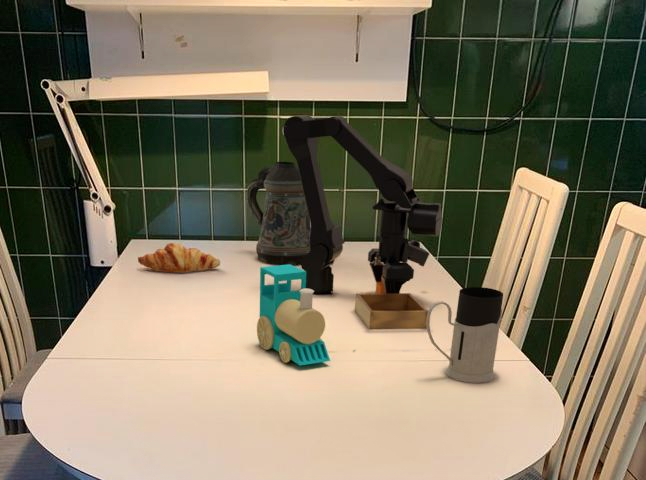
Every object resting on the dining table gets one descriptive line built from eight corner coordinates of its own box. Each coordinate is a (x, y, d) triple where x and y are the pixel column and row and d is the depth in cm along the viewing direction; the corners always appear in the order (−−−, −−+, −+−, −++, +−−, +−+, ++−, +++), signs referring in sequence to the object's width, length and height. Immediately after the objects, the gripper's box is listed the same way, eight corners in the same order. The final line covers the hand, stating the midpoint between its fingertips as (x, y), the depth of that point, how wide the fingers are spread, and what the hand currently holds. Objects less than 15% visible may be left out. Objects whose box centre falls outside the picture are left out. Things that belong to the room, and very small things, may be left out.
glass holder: (503, 380, 147) (516, 297, 140) (431, 386, 143) (441, 302, 136) (479, 364, 154) (491, 284, 147) (410, 370, 150) (418, 288, 143)
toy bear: (379, 305, 188) (381, 272, 185) (374, 300, 192) (377, 267, 188) (398, 305, 189) (401, 272, 185) (393, 300, 193) (396, 267, 189)
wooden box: (368, 331, 170) (370, 312, 168) (354, 312, 183) (355, 293, 181) (426, 331, 172) (428, 311, 170) (408, 311, 184) (410, 293, 183)
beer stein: (316, 267, 220) (320, 168, 208) (243, 264, 220) (244, 165, 208) (314, 253, 235) (318, 160, 223) (246, 251, 235) (247, 158, 223)
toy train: (295, 371, 148) (298, 288, 141) (255, 344, 161) (256, 267, 154) (333, 365, 152) (338, 284, 145) (291, 339, 164) (293, 263, 157)
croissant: (219, 279, 219) (219, 249, 219) (221, 269, 209) (221, 238, 209) (138, 278, 216) (138, 248, 216) (137, 268, 206) (136, 236, 206)
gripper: (440, 240, 176) (432, 311, 183) (416, 223, 192) (409, 290, 199) (389, 240, 174) (383, 312, 182) (369, 223, 191) (365, 290, 198)
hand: (386, 300), depth 190 cm, fingers open, 8 cm apart
